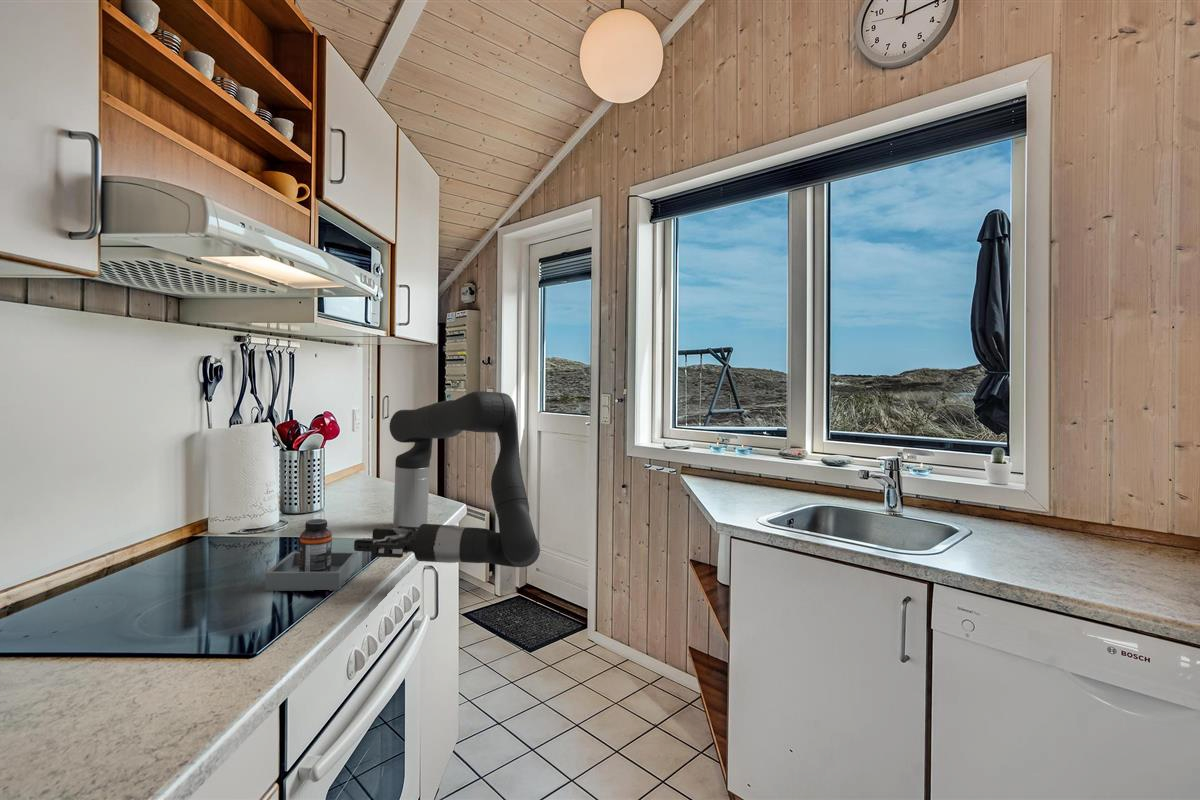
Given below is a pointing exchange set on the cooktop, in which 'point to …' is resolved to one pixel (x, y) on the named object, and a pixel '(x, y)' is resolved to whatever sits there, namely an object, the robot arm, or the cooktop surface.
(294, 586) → the tray
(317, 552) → the supplement bottle
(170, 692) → the cooktop surface
